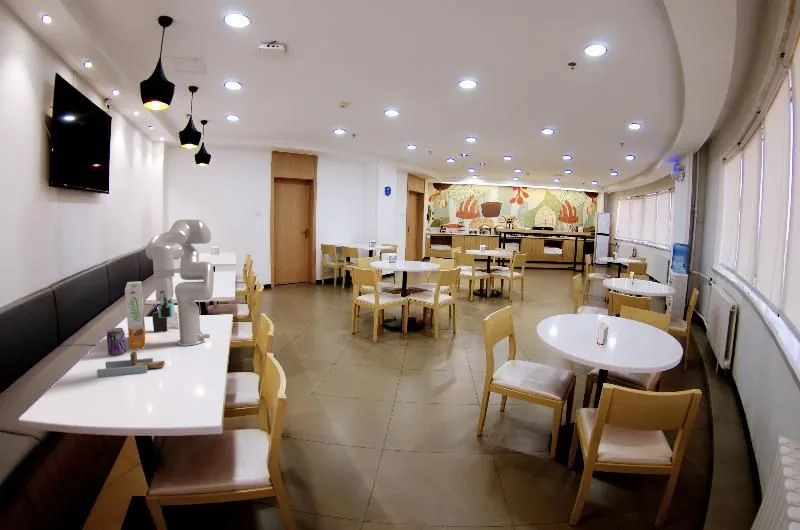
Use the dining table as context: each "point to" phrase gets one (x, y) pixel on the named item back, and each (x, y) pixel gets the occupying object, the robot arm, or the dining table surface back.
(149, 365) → the plunger rod
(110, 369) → the grey shallow tray
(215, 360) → the dining table surface
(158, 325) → the battery
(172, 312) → the block
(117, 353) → the beverage can
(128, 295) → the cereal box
